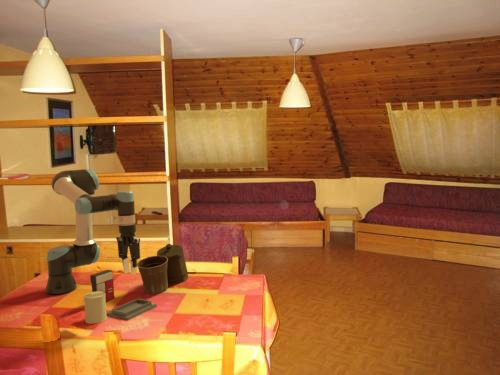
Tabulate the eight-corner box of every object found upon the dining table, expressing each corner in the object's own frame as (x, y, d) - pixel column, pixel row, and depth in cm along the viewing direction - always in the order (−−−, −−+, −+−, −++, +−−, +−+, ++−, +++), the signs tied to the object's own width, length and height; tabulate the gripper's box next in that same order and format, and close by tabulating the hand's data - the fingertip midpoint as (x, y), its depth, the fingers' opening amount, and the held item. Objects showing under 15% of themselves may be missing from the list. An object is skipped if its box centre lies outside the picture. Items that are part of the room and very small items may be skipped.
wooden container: (185, 269, 246) (179, 236, 239) (190, 281, 232) (183, 246, 225) (160, 276, 242) (153, 242, 235) (163, 288, 228) (156, 253, 221)
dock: (106, 314, 192) (106, 309, 192) (135, 301, 207) (135, 297, 207) (128, 320, 185) (127, 314, 185) (156, 306, 200) (156, 301, 200)
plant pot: (140, 299, 214) (135, 269, 210) (141, 285, 229) (137, 258, 225) (172, 293, 217) (168, 264, 213) (170, 280, 232) (167, 253, 229)
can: (88, 316, 191) (87, 290, 190) (109, 314, 192) (107, 289, 191) (82, 324, 182) (80, 297, 181) (104, 323, 183) (102, 296, 182)
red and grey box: (97, 306, 203) (95, 276, 202) (92, 304, 206) (90, 275, 204) (115, 298, 213) (113, 270, 211) (109, 297, 215) (108, 269, 214)
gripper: (108, 224, 194) (111, 273, 196) (134, 226, 185) (137, 277, 187) (120, 221, 200) (123, 269, 202) (146, 223, 191) (149, 273, 193)
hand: (130, 273), depth 194 cm, fingers open, 4 cm apart
